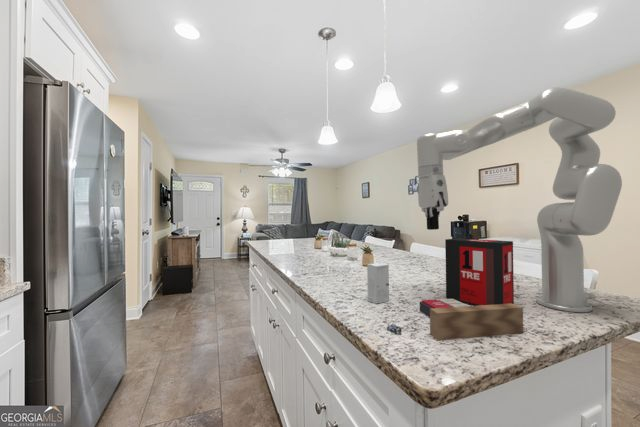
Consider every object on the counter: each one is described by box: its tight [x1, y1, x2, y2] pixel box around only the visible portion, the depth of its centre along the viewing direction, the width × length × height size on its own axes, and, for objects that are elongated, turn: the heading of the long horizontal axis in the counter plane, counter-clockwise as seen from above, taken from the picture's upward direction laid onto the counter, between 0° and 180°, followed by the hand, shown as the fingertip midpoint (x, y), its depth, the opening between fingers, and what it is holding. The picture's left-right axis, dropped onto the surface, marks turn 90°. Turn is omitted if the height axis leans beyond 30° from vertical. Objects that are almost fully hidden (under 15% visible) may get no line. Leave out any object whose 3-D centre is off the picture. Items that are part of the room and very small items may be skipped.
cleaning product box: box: [445, 237, 515, 306], centre depth 84 cm, size 16×9×20 cm, turn 37°
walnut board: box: [429, 303, 524, 341], centre depth 62 cm, size 22×3×6 cm, turn 98°
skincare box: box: [366, 262, 390, 305], centre depth 87 cm, size 6×4×12 cm
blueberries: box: [386, 323, 409, 336], centre depth 64 cm, size 7×8×2 cm
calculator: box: [419, 298, 470, 318], centre depth 71 cm, size 11×4×15 cm
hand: (432, 229), depth 85 cm, fingers closed
